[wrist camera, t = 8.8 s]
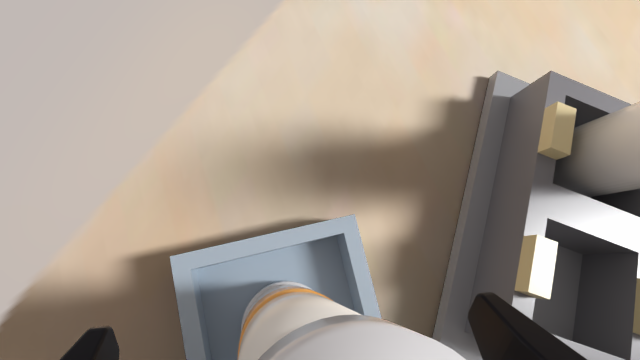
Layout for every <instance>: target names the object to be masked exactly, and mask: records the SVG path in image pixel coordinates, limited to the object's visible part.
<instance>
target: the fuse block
mask: <svg viewBox="0 0 640 360" xmlns="http://www.w3.org/2000/svg"><path fill="white" fill-rule="evenodd" d="M630 105H631V104H629V103H626V102H624V101H622V100H619V99H617V98H615V97H612V96H610V95H607V94H605V93H603V92H600V91H598V90H596V89H593V88H591V87H588V86H586V85H584V84H581V83H579V82H577V81H574V80H572V79H569V78H567V77H565V76H562V75H560V74H558V73H555V72H553V71H550V72H548V73H547V74H545V75H544V76H542V77H541V78H539V79H538V80H536V81H535V82H533V83H531V84H529V83H526V82H524V81H522V80H519V79H517V78H514V77H512V76H510V75H507V74H505V73H502V72H500V71H497V72H496V73H494V74H493V75H492V76H491V77H489V82H488V87H487V91H486V96H485V100H484V105H483V109H482V114H481V118H480V123H479V128H478V132H477V137H476V141H475V146H474V150H473V155H472V159H471V164H470V168H469V173H468V178H467V182H466V187H465V191H464V196H463V200H462V205H461V209H460V214H459V219H458V223H457V228H456V232H455V237H454V241H453V246H452V250H451V255H450V260H449V264H448V269H447V273H446V278H445V282H444V287H443V291H442V296H441V301H440V305H439V310H438V314H437V319H436V323H435V328H434V332H433V337H432V339H434V340H436V341H438V342H440V343H442V344H443V345H445V346H447V347H449V348H451V349H452V350H454V351H455V352H457V353H458V354H459V355H461V356H462V357H463V358H465V359H466V360H483V359H482V357H481V354H480V351H479V349H478V346H477V343H476V340H475V338H474V335H473V332H472V330H471V327H470V324H469V321H468V311H469V309H470V307H471V305H472V302H473V300H474V298H475V296H476V295H477V294H478V293H484V292H492V293H495V294H496V295H498V296H499V297H501V298H502V299H503V300H505V301H506V302H508V303H509V304H510V305H512V306H513V307H515V308H516V309H517V310H519V311H520V312H522V313H523V314H524V315H526V316H527V317H529V318H530V319H531V320H533V321H534V322H536V323H537V324H538V325H540V326H541V327H543V328H544V329H545V330H547V331H548V332H550V333H551V334H552V335H554V336H555V337H557V338H558V339H559V340H561V341H562V342H564V343H565V344H566V345H568V346H569V347H571V348H572V349H573V350H575V351H576V352H578V353H579V354H580V355H582V356H583V357H585V358H586V359H587V360H640V189H634V190H629V191H623V192H617V193H611V194H606V195H600V196H594V197H591V198H589V197H587V196H584V195H581V194H579V193H576V192H574V191H571V190H569V189H566V188H564V187H561V186H558V185H556V184H553V178H554V171H555V164H556V160H557V159H560V158H563V157H566V156H569V155H570V154H571V146H572V139H573V132H574V128H575V127H578V126H580V125H583V124H585V123H588V122H590V121H593V120H595V119H598V118H600V117H603V116H605V115H608V114H610V113H613V112H615V111H618V110H620V109H623V108H625V107H628V106H630Z"/></svg>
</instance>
